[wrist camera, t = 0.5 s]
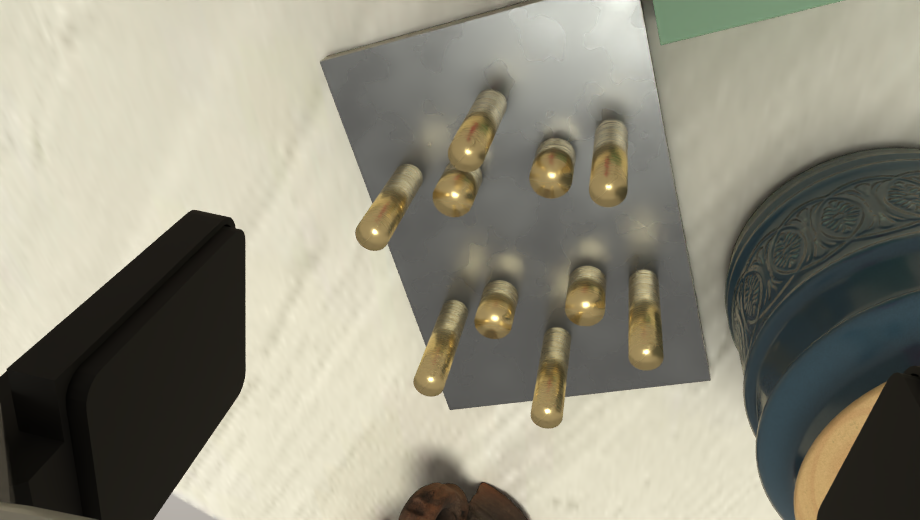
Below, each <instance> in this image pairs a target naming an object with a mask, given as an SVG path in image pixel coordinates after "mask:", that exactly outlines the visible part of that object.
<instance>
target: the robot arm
mask: <svg viewBox="0 0 920 520" xmlns="http://www.w3.org/2000/svg"><path fill="white" fill-rule="evenodd" d="M245 371H246V363H245V235H244V232H243V231H242V230H240V229H236V228H235V224H234V221H233V220H232V219H231V218H230V217H226V216H221V215H217V214H212V213H207V212H203V211H198V210H192V211H190V212H188V213H187V214H186V215H185V216H183V217H182V218H181V219H180V220H179V221H178V222H177V223H175V224H174V225H173V226H172V227H171V228H170V229H168V230H167V231H166V232H165V233H164V234H163V235H161V236H160V237H159V238H158V239H157V240H156V241H155V242H153V243H152V244H151V245H150V246H149V247H148V248H146V249H145V250H144V251H143V252H142V253H141V254H139V255H138V256H137V257H136V258H135V259H134V260H132V261H131V262H130V263H129V264H128V265H127V266H126V267H124V268H123V269H122V270H121V271H120V272H119V273H117V274H116V275H115V276H114V277H113V278H112V279H110V280H109V281H108V282H107V283H106V284H105V285H104V286H102V287H101V288H100V289H99V290H98V291H97V292H95V293H94V294H93V295H92V296H91V297H90V298H88V299H87V300H86V301H85V302H84V303H83V304H81V305H80V306H79V307H78V308H77V309H76V310H75V311H73V312H72V313H71V314H70V315H69V316H68V317H66V318H65V319H64V320H63V321H62V322H61V323H59V324H58V325H57V326H56V327H55V328H54V329H52V330H51V331H50V332H49V333H48V334H47V335H46V336H44V337H43V338H42V339H41V340H40V341H39V342H37V343H36V344H35V345H34V346H33V347H32V348H30V349H29V350H28V351H27V352H26V353H25V354H24V355H22V356H21V357H20V358H19V359H18V360H17V361H15V362H14V363H13V364H12V365H11V366H10V367H8V368H7V371H6V372H5V373H4V374H3V375H2V376H1V377H0V520H153V519H154V518H155V516H156V515H157V513H158V512H159V511H160V509H161V508H162V506H163V504H164V503H165V502H166V500H167V499H168V497H169V496H170V495H171V493H172V492H173V490H174V489H175V487H176V486H177V484H178V483H179V481H180V480H181V479H182V477H183V476H184V474H185V473H186V471H187V470H188V468H189V467H190V465H191V464H192V463H193V461H194V460H195V458H196V457H197V455H198V454H199V452H200V451H201V449H202V448H203V447H204V445H205V444H206V442H207V441H208V439H209V438H210V436H211V435H212V434H213V432H214V431H215V429H216V428H217V426H218V425H219V423H220V422H221V420H222V419H223V418H224V416H225V415H226V413H227V412H228V410H229V409H230V407H231V406H232V404H233V403H234V402H235V400H236V399H237V397H238V395H239V394H240V392H241V389H242V387H243V383H244V379H245ZM817 520H920V366H911V367H909V368H908V369H907V370H905V371H904V373H898V372H897V373H894V374H892V375H891V376H890V377H889V379H888V380H887V382H886V384H885V386H884V388H883V389H882V391H881V393H880V395H879V397H878V399H877V401H876V403H875V404H874V406H873V408H872V410H871V412H870V414H869V416H868V418H867V419H866V421H865V423H864V425H863V427H862V429H861V431H860V432H859V434H858V436H857V438H856V440H855V442H854V444H853V446H852V447H851V449H850V451H849V453H848V455H847V457H846V459H845V461H844V462H843V464H842V466H841V468H840V470H839V472H838V474H837V476H836V477H835V479H834V481H833V483H832V485H831V487H830V489H829V491H828V492H827V494H826V496H825V498H824V500H823V502H822V504H821V505H820V508H819V510H818V514H817Z"/></svg>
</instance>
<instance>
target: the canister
mask: <svg viewBox="0 0 920 520" xmlns="http://www.w3.org/2000/svg"><path fill="white" fill-rule="evenodd" d="M725 305H726V313H727V318H728V324H729V329H730V332H731V335H732V339H733V341H734V343H735V346H736V348H737V350H738V351H739V355H740V360H741V365H742V370H743V374H744V382H743V396H744V405H745V410H746V415H747V418H748V421H749V424H750V427H751V429H752V431H753V433H754V436H755V437H756V461H757V468H758V473H759V477H760V480H761V483H762V486H763V489H764V491H765V493H766V495H767V497H768V499H769V501H770V502H771V504H772V506H773V507H774V509H775V510H776V512H777V513H778V514H779V516H780V517H781V518H782V519H783V520H817V514H818V510H819V508H820V505H821V504H822V502H823V500H824V498H825V496H826V494H827V492H828V491H829V489H830V487H831V485H832V483H833V481H834V479H835V477H836V476H837V474H838V472H839V470H840V468H841V466H842V464H843V462H844V461H845V459H846V457H847V455H848V453H849V451H850V449H851V447H852V446H853V444H854V442H855V440H856V438H857V436H858V434H859V432H860V431H861V429H862V427H863V425H864V423H865V421H866V419H867V418H868V416H869V414H870V412H871V410H872V408H873V406H874V404H875V403H876V401H877V399H878V397H879V395H880V393H881V391H882V389H883V388H884V386H885V384H886V382H887V380H888V379H889V377H890V376H891V375H892V374H894V373H897V372H898V373H904V371H905V370H907V369H908V368H909V367H911V366H920V149H915V148H882V149H872V150H866V151H860V152H856V153H851V154H848V155H844V156H841V157H837V158H834V159H832V160H829V161H826V162H824V163H821V164H819V165H817V166H814V167H813V168H811V169H809V170H807V171H805V172H803V173H801V174H799V175H798V176H796V177H794V178H793V179H791V180H790V181H788V182H787V183H786V184H784V185H783V186H782V187H780V188H779V189H778V190H776V191H775V192H774V193H773V194H772V195H771V196H770V197H769V198H767V199H766V200H765V201H764V202H763V204H762V205H761V206H760V207H759V208H758V209H757V210H756V211H755V213H754V214H753V215H752V216H751V218H750V219H749V221H748V222H747V224H746V225H745V227H744V228H743V230H742V232H741V234H740V236H739V238H738V240H737V242H736V245H735V247H734V250H733V253H732V257H731V260H730V265H729V269H728V273H727V279H726V287H725Z"/></svg>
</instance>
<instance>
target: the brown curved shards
mask: <svg viewBox="0 0 920 520" xmlns="http://www.w3.org/2000/svg"><path fill="white" fill-rule="evenodd" d="M399 520H527V519H526V518H525V516H524V515H523V514H522V512H521V510H520V509H519V508H518V507H516V506H515V505H514V504H513V503H512V501H511V500H509V499H508V498H507V497H506V496H505V495H503V494H502V493H500V492H499V491H497V490H496V489H494V488H493V487H491V486H490V485H488V484H486V483H481V484H480V486H479V488H478V490H477V493H476V494H475V495H474V496H473V497H472V499H471V501H470V502H469V503H468V501H467V498H466V496H465V494H464V492H463V491H462V490H461V489H460V488H459V487H458V486H457V485H455V484H451V483H446V484H441V483H432V484H429V485H427V486H424V487H422V488H420V489H419V490H418V491H416V492H415V493H414V494H413V495H412V496H411V497H410V499H409V500H408V501H407V503H406V505H405V506H404V508H403V510H402V512H401V514H400V517H399Z"/></svg>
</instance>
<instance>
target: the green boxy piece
mask: <svg viewBox="0 0 920 520" xmlns="http://www.w3.org/2000/svg"><path fill="white" fill-rule="evenodd" d="M840 1H844V0H653V5H654V11H655V16H656V22H657V28H658V33H659V39H660V44H661V45H664V44H668V43H672V42H676V41H681V40H685V39H689V38H693V37H697V36H701V35H705V34H709V33H713V32H717V31H721V30H725V29H730V28H734V27H738V26H742V25H746V24H750V23H754V22H758V21H762V20H766V19H770V18H774V17H779V16H783V15H787V14H791V13H795V12H799V11H803V10H807V9H811V8H815V7H819V6H823V5H827V4H832V3H836V2H840Z"/></svg>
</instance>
